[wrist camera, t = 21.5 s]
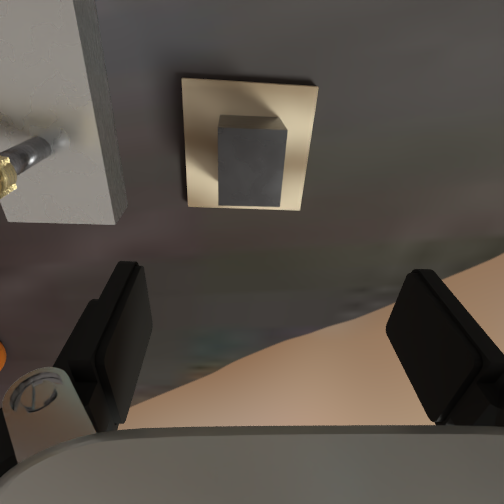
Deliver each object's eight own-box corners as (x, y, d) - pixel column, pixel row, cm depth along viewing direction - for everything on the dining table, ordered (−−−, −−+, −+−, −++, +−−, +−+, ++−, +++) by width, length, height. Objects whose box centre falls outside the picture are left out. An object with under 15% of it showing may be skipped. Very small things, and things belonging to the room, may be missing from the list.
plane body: (-98, -190, 18) (-342, -362, 10) (67, -170, 19) (-48, -321, 11) (32, 202, 31) (-35, 254, 23) (127, 205, 32) (93, 257, 24)
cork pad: (182, 77, 26) (181, 78, 25) (316, 85, 27) (318, 87, 26) (189, 203, 32) (188, 206, 31) (298, 206, 33) (299, 210, 32)
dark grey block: (220, 114, 27) (217, 127, 23) (279, 117, 27) (287, 130, 23) (220, 183, 30) (218, 205, 26) (273, 184, 30) (279, 207, 26)
